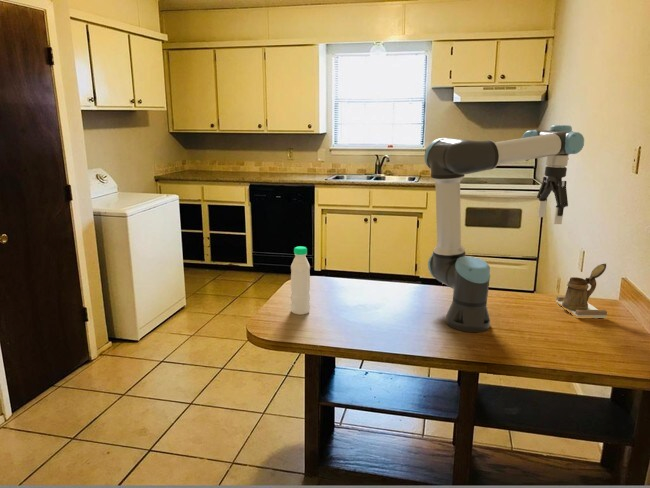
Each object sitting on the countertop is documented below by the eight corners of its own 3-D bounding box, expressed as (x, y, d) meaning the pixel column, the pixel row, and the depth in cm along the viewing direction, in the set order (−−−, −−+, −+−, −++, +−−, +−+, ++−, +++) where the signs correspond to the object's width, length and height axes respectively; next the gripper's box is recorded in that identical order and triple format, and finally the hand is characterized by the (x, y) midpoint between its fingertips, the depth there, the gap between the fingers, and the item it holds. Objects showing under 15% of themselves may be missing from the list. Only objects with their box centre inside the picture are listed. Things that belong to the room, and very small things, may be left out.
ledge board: (576, 318, 182) (578, 311, 181) (555, 303, 198) (556, 296, 197) (605, 318, 183) (607, 311, 182) (582, 303, 198) (583, 296, 197)
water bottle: (310, 308, 188) (311, 245, 181) (308, 315, 181) (308, 250, 175) (292, 307, 188) (292, 244, 182) (289, 314, 182) (289, 249, 175)
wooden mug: (604, 313, 184) (612, 267, 180) (566, 310, 186) (573, 265, 181) (594, 304, 193) (601, 260, 188) (558, 302, 194) (564, 258, 190)
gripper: (583, 169, 177) (574, 227, 183) (550, 163, 201) (543, 214, 207) (563, 169, 177) (555, 227, 182) (532, 163, 201) (526, 214, 206)
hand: (549, 220), depth 195 cm, fingers open, 13 cm apart
